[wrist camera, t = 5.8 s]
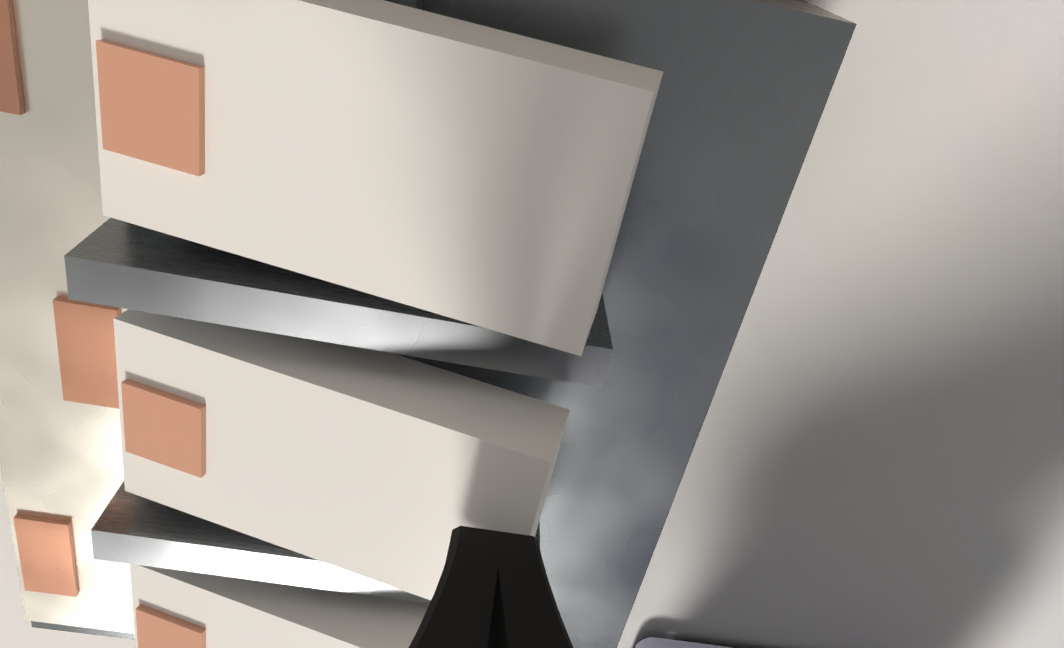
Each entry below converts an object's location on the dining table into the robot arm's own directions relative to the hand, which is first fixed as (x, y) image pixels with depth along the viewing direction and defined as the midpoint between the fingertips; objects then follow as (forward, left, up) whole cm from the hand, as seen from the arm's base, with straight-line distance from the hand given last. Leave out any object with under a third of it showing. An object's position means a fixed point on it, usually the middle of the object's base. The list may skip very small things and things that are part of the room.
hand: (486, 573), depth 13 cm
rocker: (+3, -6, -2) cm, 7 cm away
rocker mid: (+3, 0, -2) cm, 4 cm away
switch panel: (+3, 0, -7) cm, 8 cm away
